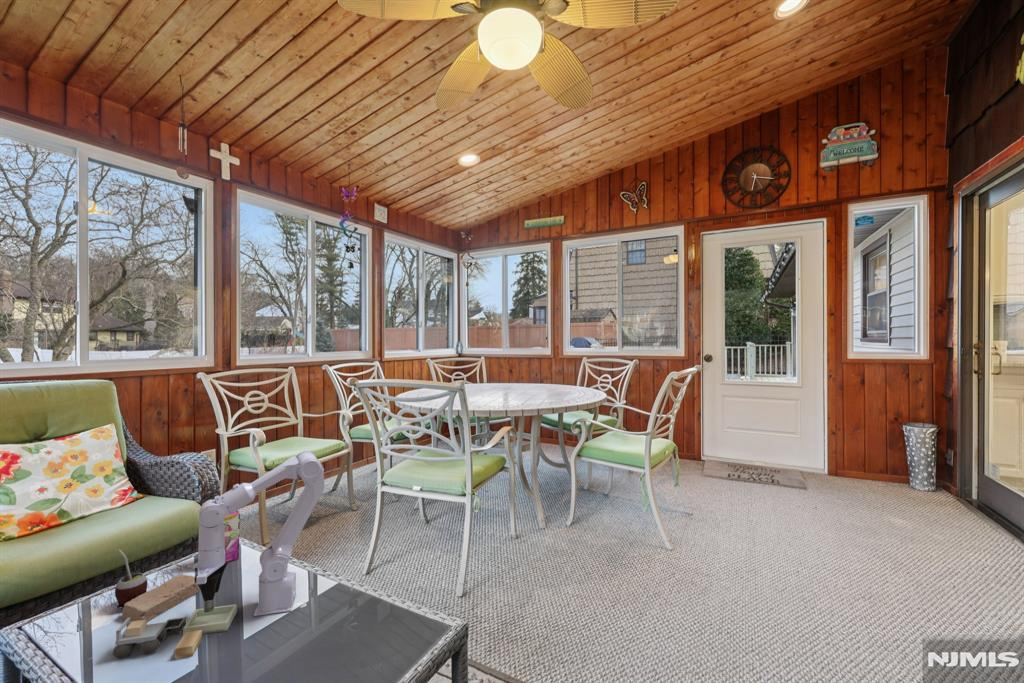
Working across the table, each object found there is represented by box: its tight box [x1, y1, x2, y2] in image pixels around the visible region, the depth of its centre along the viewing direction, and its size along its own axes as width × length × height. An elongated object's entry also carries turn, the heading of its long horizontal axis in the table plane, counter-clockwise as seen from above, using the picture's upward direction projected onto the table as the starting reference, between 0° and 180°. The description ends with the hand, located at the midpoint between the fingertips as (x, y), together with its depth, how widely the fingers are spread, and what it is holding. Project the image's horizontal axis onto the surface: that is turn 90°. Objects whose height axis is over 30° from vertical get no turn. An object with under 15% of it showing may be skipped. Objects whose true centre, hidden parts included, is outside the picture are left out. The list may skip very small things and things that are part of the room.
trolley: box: [112, 617, 167, 660], centre depth 110 cm, size 9×5×7 cm, turn 106°
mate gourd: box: [114, 549, 148, 609], centre depth 126 cm, size 8×8×15 cm
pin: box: [203, 598, 215, 613], centre depth 119 cm, size 3×3×7 cm
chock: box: [174, 630, 203, 660], centre depth 110 cm, size 4×6×3 cm, turn 17°
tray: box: [182, 603, 238, 637], centre depth 119 cm, size 10×8×2 cm
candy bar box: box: [197, 510, 241, 564], centre depth 150 cm, size 11×5×16 cm, turn 136°
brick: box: [121, 574, 201, 623], centre depth 127 cm, size 17×8×5 cm, turn 163°
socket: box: [164, 616, 187, 637], centre depth 117 cm, size 4×4×2 cm
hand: (211, 596), depth 119 cm, fingers closed on pin, 3 cm apart
